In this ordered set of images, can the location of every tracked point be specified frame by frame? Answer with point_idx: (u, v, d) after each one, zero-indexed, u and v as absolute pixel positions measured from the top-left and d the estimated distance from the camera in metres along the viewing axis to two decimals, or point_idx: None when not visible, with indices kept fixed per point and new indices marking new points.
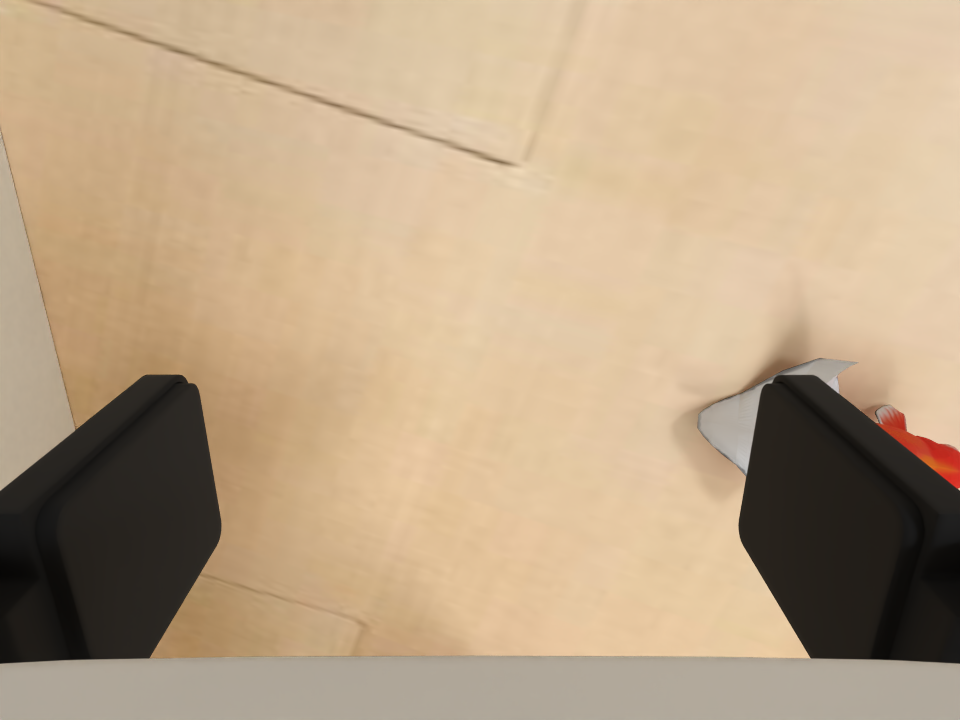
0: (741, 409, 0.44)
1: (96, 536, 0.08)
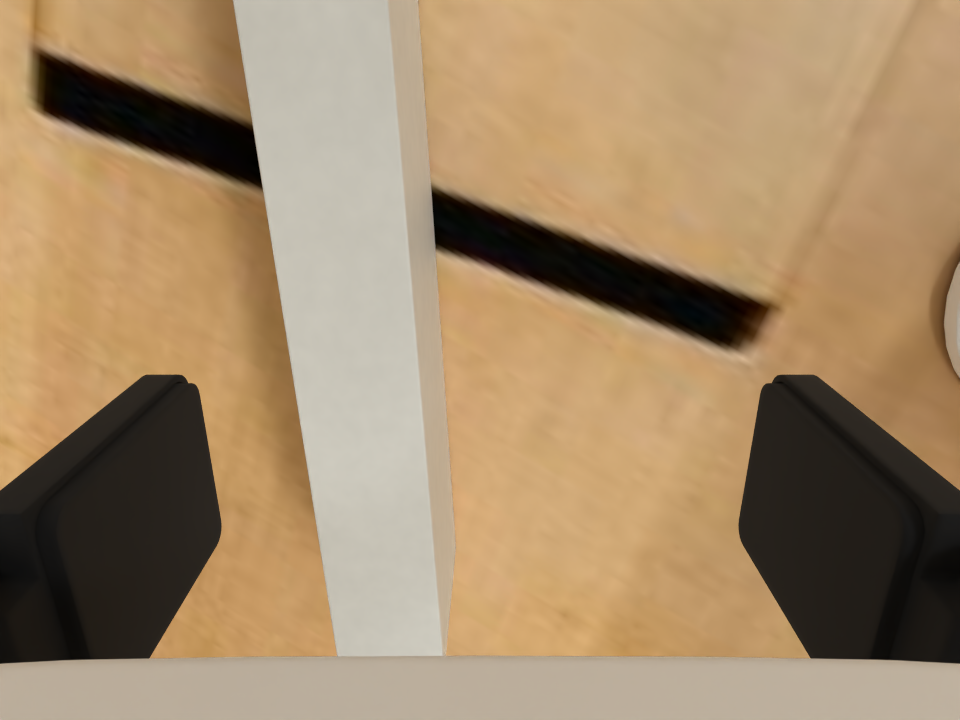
0: None
1: (96, 536, 0.08)
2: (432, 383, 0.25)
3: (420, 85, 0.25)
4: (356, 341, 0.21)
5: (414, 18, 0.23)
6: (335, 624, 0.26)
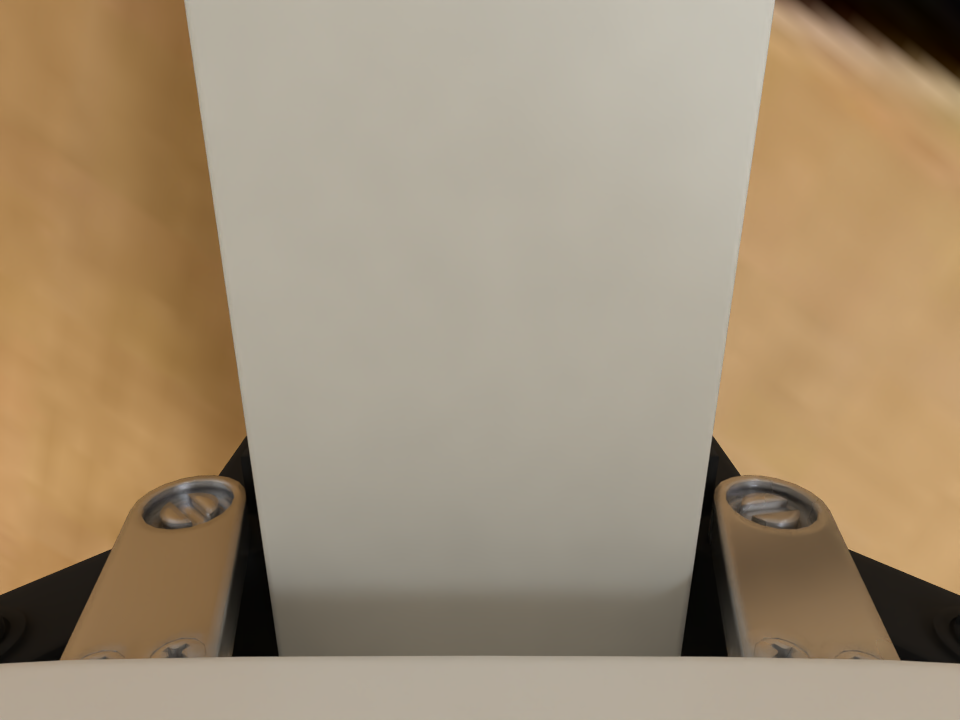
0: None
1: None
2: None
3: None
4: None
5: None
6: None
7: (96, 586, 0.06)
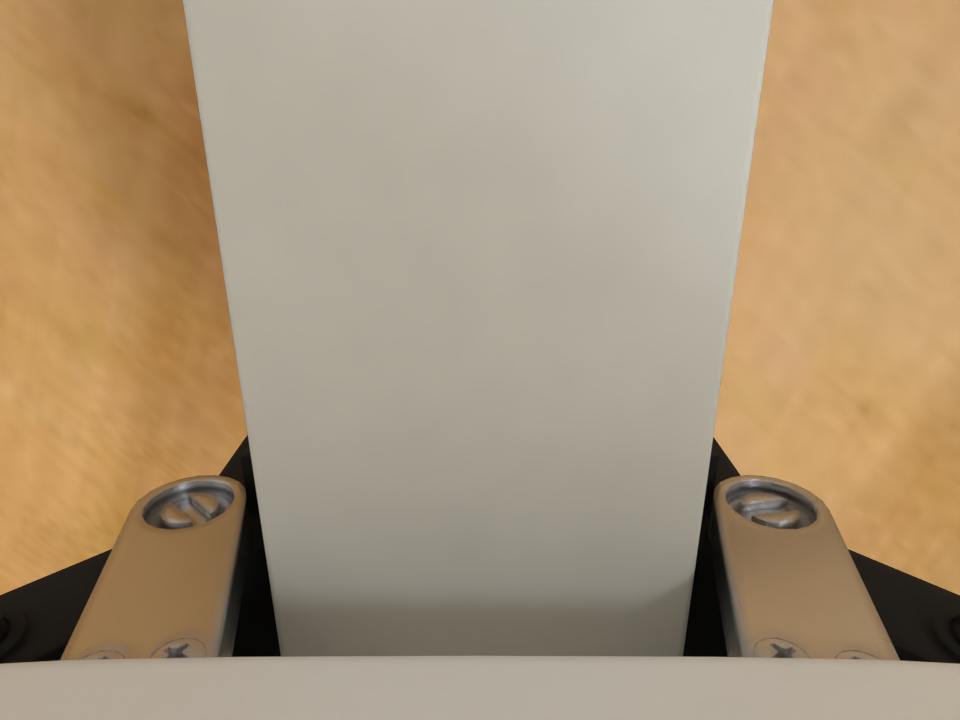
0: None
1: None
2: None
3: None
4: None
5: None
6: None
7: (97, 586, 0.06)
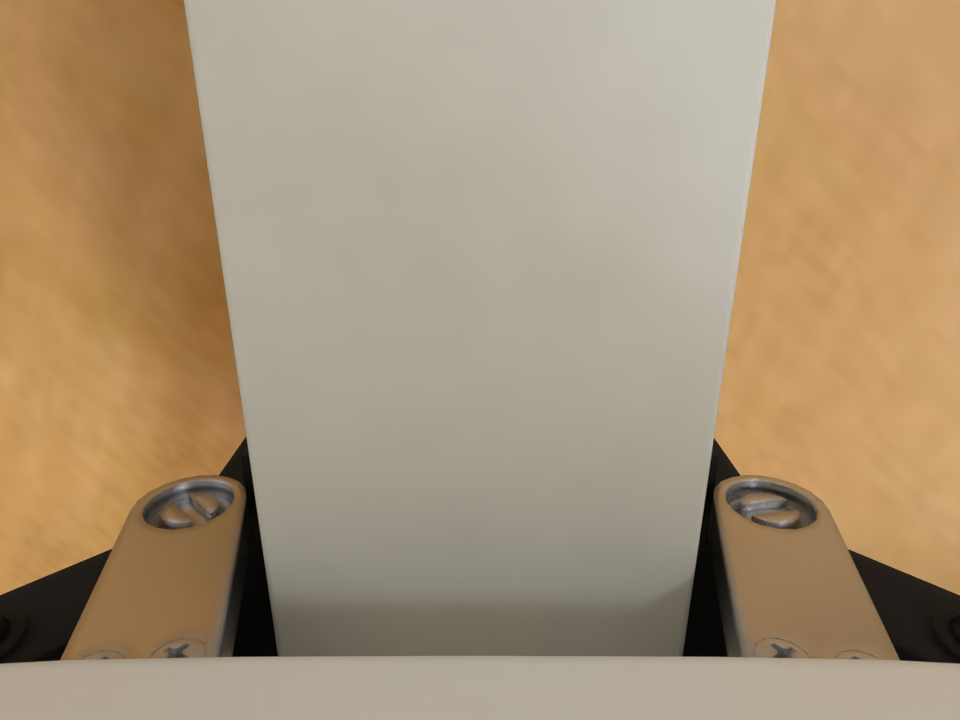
0: None
1: None
2: None
3: None
4: None
5: None
6: None
7: (98, 585, 0.06)
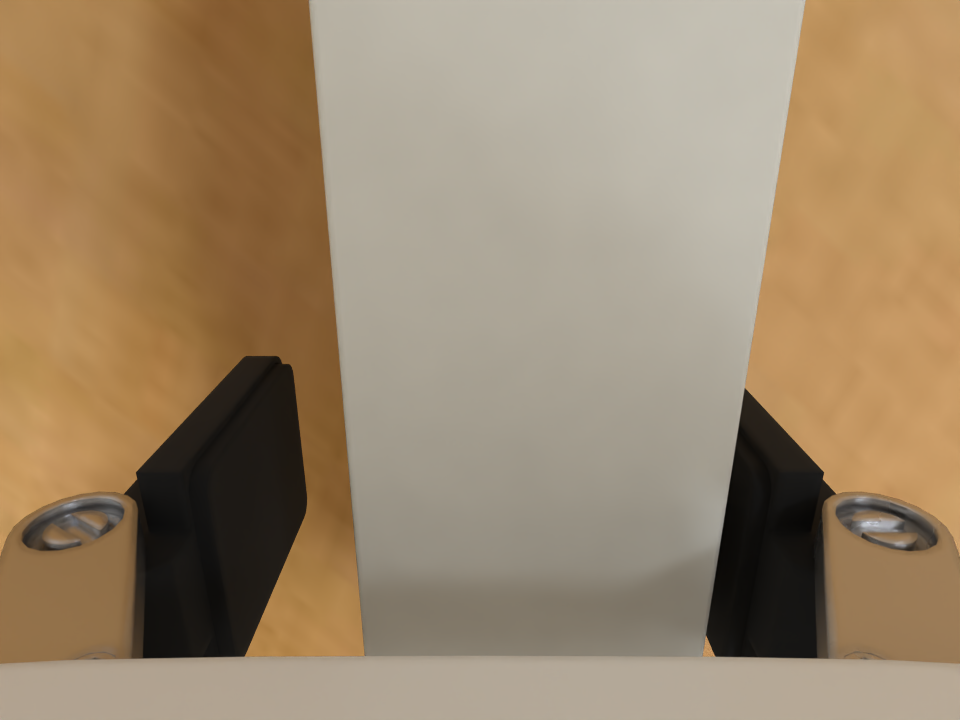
0: None
1: (231, 498, 0.08)
2: None
3: None
4: None
5: None
6: None
7: None
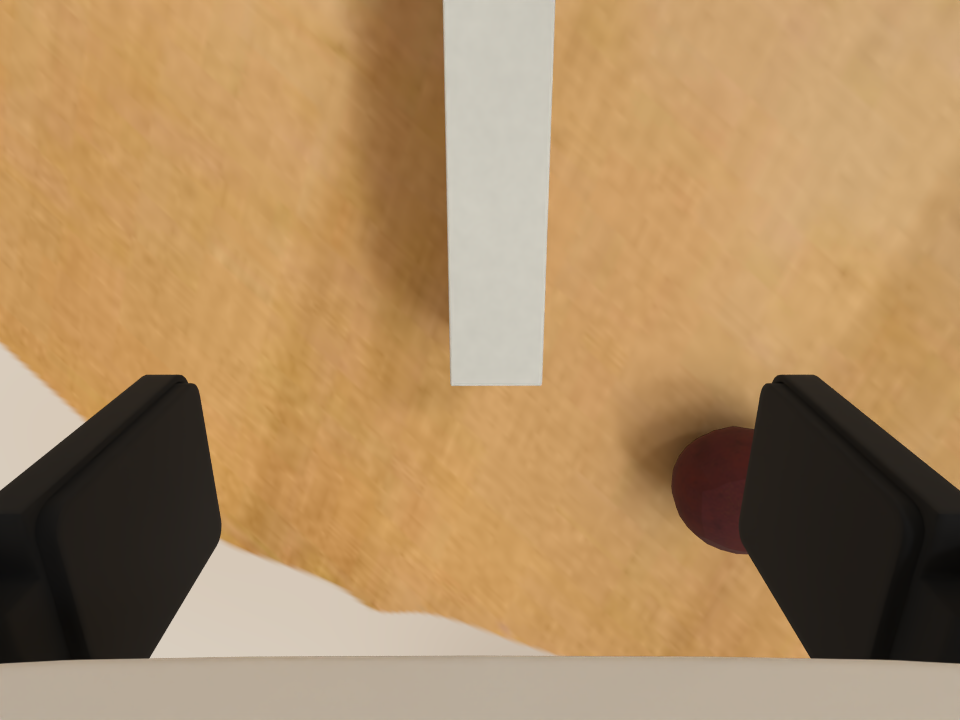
0: None
1: (96, 536, 0.08)
2: None
3: None
4: (503, 49, 0.25)
5: None
6: (453, 334, 0.30)
7: None
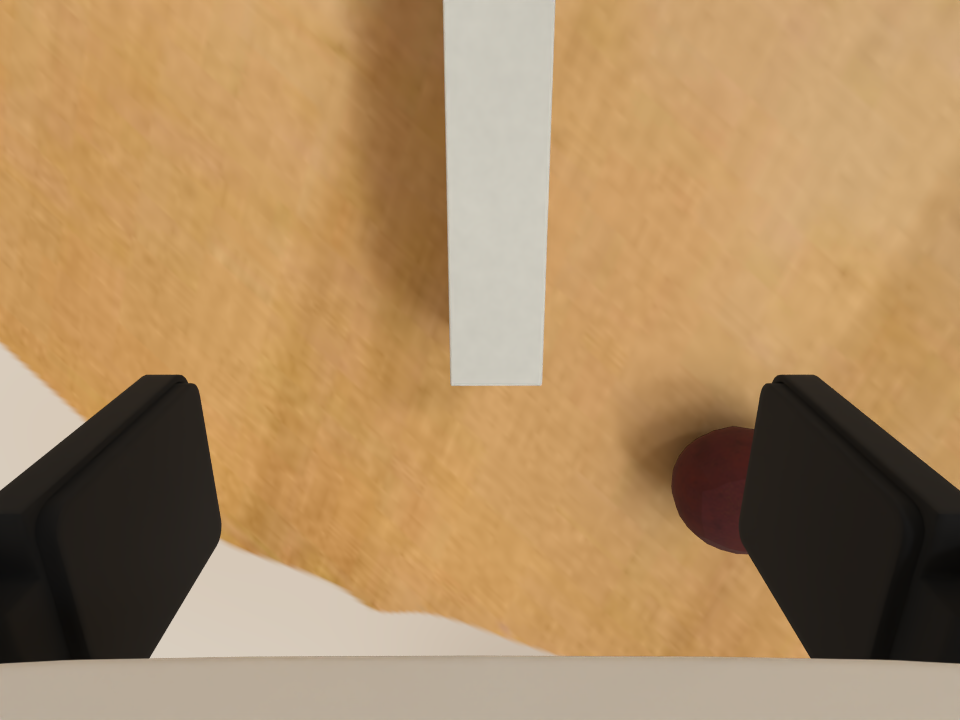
0: None
1: (96, 536, 0.08)
2: None
3: None
4: (503, 49, 0.25)
5: None
6: (453, 334, 0.30)
7: None
